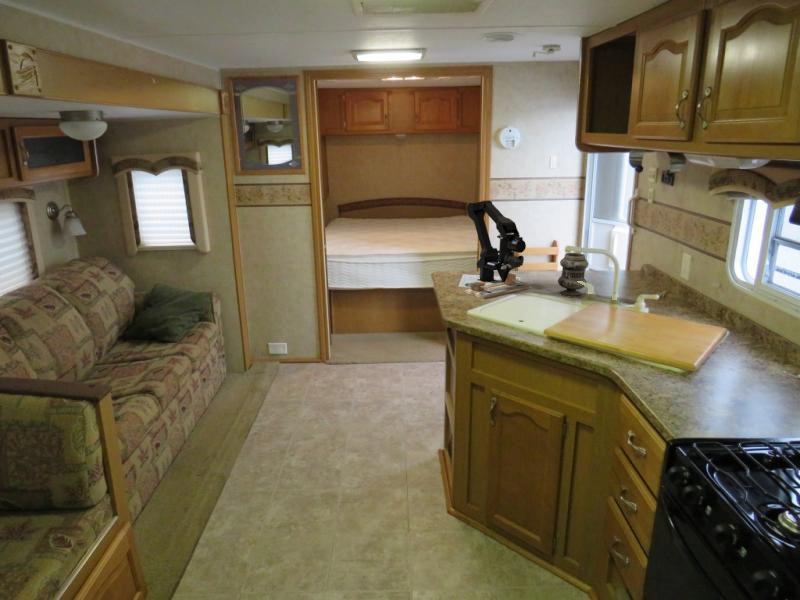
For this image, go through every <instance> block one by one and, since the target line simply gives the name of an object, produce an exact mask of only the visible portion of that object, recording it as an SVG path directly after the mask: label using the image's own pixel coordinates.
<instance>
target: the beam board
mask: <svg viewBox="0 0 800 600" xmlns="http://www.w3.org/2000/svg"><path fill="white" fill-rule="evenodd" d="M484 287H487V288H490V290H487V289H484V290H482V291H478V292H477V291H474V290H471V288H469V289H464V293H465V294H469V295H470V296H475V297H478V298H481V299H488V298H492V297H495V296H501V295H505V294H510V293H514V292H517V291H516V290H518V291H522V290H521V289H523V290H525V288H527V289H530V288H531V285H529V284H526V283H523V282H522V283H520V282H515V283H513V284H507V283H503V282H502V281H501V282H497V283H493V284H487V285H484ZM529 287H530V288H529ZM513 291H514V292H513Z"/></svg>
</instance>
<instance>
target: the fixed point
mask: <svg viewBox="0 0 800 600" xmlns="http://www.w3.org/2000/svg"><path fill="white" fill-rule="evenodd" d="M484 286H485V282H484V283H482V282H480V281H475V282H471V283H470V289H471V290H474V291H477V292H478V291H482V290H484V289H487V290H490V288H487V287H484Z"/></svg>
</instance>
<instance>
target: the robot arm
mask: <svg viewBox="0 0 800 600" xmlns="http://www.w3.org/2000/svg"><path fill="white" fill-rule="evenodd" d="M466 212H467V215H468V218H470V219H471V220H472V221H473V223H474V227H475V230H476V234H477V238H478V241H479V245H480V248H481V250H480V253H479V260H478V261H477V262H476V268H478V269H479V278H480V280H479V281H481V280H483V281H482V282H485V281H489V282H492V281H491V280H494V279H495V271H497V273H498V275H499V277H500V279H501V282H505V281H506V279H507V276H508V274H509V273H511V271H512V270H514V269H517V268H521V266H523V264H524V261H525V257H524V256H523V255H518V256H517V255H515V253H517V254H518V253H519V254H521V253H523V252H524V251H525V250H526V247H527V244H526V242H525V240H524V239H523V236H520V232H519V231H518V228H517V224H516V222H515V221H513V220H512V219H510V218H509V217H505V215H504V214H502V213H501V212H500V210H499V209H498V208H497V207H496V205H494V204H493V202H492V200H488V199H486V200H481V201H475V202H473V201H472V202H469V203H468V204H467V206H466ZM485 215H487V216H488V217H489V218H490V219H491V220H492V221H493V222H494V223H495V229H496V230H497V232H498V233H499V234H498V235H497V236H496V237H497V238H498V239H499V248H497V247H493V246H492V243H491V239H490V236H489V231H488V228H487V225H486V221H485ZM498 249H499V250H498ZM494 281H495V280H494Z"/></svg>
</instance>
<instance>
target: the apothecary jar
mask: <svg viewBox="0 0 800 600" xmlns="http://www.w3.org/2000/svg"><path fill="white" fill-rule="evenodd" d="M559 265H560V266H561V267H562V270H561V276H560V277H559V278H558V279H557V283H558V285H559V286H560V287H562V288H564V289H563V290H560V291H559V293H560V294H561V296H563V295H565V296H564V297H566V296H570V297H569V298H580V297H583V293H582V292H581V291H579V290H581V289H583V288H585V287H586V286H584V285H582V284H580V283H578V282H577V281H583V282H585V283H587V282H588V281H587V280H586V279H585V271H586V269H587V268H588V267H589V261H588V259H586V255H585V254H584V253H580V252H567V253H565V254H564V257H563V258H562V259H561V260H560V262H559ZM560 294H559V295H560Z"/></svg>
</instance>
